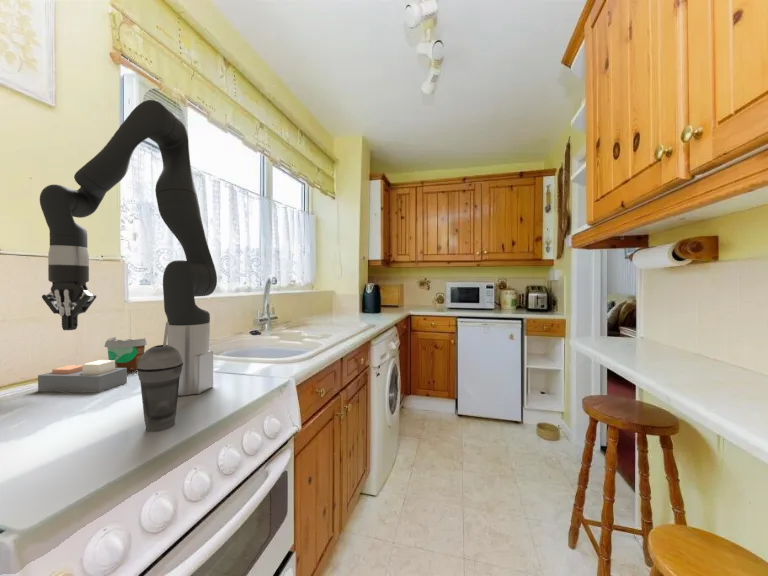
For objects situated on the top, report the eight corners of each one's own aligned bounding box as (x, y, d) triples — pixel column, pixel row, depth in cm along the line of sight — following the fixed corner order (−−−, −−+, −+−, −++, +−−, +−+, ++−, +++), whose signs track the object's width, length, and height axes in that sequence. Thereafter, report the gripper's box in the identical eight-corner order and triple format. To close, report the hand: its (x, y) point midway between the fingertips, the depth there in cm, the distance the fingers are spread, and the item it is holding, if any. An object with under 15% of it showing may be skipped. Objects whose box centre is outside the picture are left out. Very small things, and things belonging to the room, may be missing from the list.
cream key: (115, 373, 84) (115, 360, 84) (99, 378, 79) (99, 364, 79) (99, 372, 84) (99, 360, 84) (82, 377, 80) (82, 364, 80)
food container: (93, 372, 95) (93, 340, 94) (113, 367, 101) (114, 336, 101) (127, 375, 92) (127, 341, 92) (146, 369, 99) (146, 338, 98)
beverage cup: (153, 418, 63) (153, 320, 63) (190, 417, 64) (191, 320, 63) (126, 435, 56) (126, 324, 56) (169, 434, 56) (169, 324, 56)
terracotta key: (86, 378, 84) (86, 365, 84) (69, 383, 80) (69, 369, 80) (70, 377, 84) (70, 364, 84) (52, 382, 80) (52, 369, 80)
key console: (126, 382, 86) (126, 368, 86) (99, 392, 78) (99, 376, 78) (71, 381, 86) (71, 366, 86) (38, 391, 78) (38, 375, 78)
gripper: (106, 265, 85) (107, 328, 85) (60, 265, 86) (60, 328, 86) (79, 263, 78) (79, 332, 78) (28, 263, 78) (28, 332, 78)
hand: (69, 329), depth 82 cm, fingers closed
